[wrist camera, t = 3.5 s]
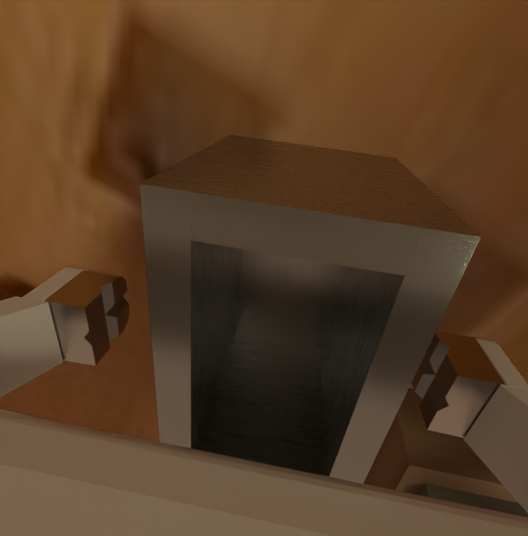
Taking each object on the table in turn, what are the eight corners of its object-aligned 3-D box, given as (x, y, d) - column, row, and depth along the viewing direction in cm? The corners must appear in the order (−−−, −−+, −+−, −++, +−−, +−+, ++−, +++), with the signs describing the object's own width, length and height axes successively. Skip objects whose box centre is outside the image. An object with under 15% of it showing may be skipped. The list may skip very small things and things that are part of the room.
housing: (395, 157, 10) (481, 236, 5) (336, 354, 14) (347, 516, 9) (231, 134, 10) (139, 184, 5) (219, 332, 14) (162, 475, 9)
